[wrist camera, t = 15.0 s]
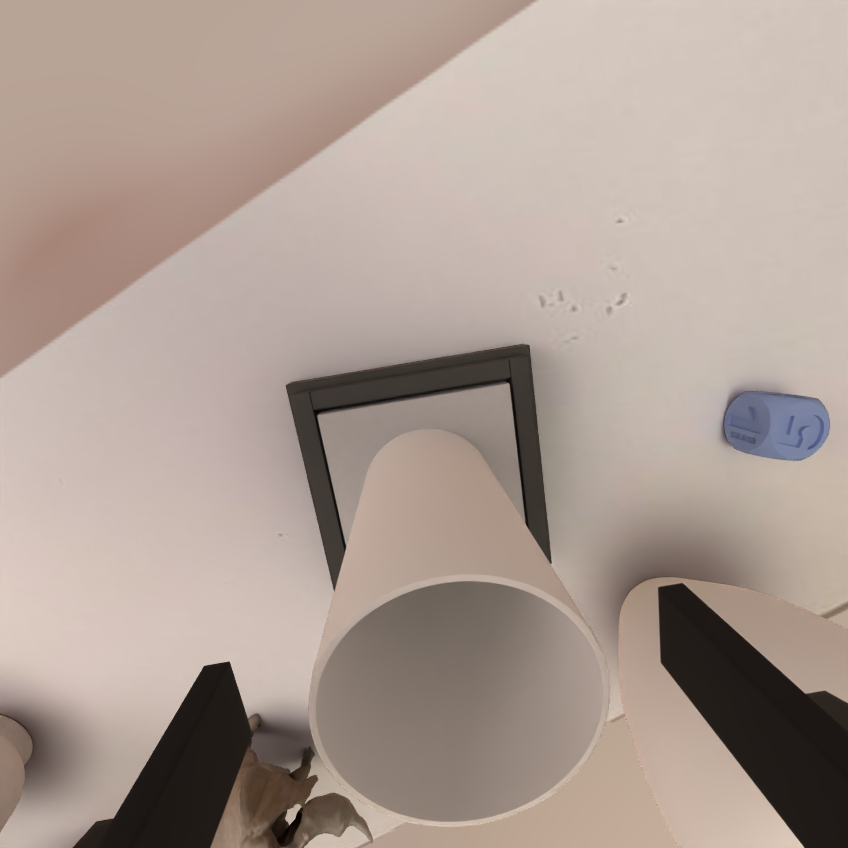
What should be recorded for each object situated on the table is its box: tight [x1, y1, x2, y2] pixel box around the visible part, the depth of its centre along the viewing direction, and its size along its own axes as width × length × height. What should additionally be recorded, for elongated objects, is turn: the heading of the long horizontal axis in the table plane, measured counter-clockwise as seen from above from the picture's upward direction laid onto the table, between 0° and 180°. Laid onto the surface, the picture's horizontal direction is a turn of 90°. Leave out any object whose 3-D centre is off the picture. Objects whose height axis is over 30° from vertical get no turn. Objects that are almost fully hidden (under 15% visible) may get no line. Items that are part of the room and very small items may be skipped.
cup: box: [308, 429, 610, 827], centre depth 19 cm, size 8×8×16 cm
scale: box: [286, 344, 552, 591], centre depth 29 cm, size 16×16×3 cm
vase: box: [618, 577, 848, 848], centre depth 20 cm, size 14×14×28 cm
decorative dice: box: [724, 391, 830, 461], centre depth 28 cm, size 4×4×4 cm
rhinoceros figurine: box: [211, 714, 373, 848], centre depth 30 cm, size 8×14×15 cm
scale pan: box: [317, 381, 526, 547], centre depth 27 cm, size 12×12×2 cm
